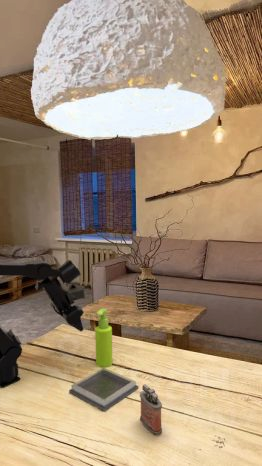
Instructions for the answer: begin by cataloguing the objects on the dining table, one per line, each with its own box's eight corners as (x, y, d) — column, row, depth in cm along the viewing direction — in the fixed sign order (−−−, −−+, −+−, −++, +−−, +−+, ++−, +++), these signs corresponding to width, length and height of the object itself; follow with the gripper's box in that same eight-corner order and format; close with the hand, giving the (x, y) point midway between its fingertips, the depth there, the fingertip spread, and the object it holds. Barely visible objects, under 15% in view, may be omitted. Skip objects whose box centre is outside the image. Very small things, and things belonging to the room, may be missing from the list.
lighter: (165, 432, 87) (165, 395, 86) (153, 437, 85) (153, 399, 84) (148, 415, 94) (147, 380, 93) (137, 419, 92) (136, 383, 91)
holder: (104, 411, 95) (104, 404, 95) (69, 392, 105) (69, 385, 105) (138, 388, 107) (138, 381, 107) (103, 373, 116) (103, 366, 116)
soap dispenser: (92, 367, 120) (90, 312, 118) (99, 358, 127) (98, 306, 125) (108, 369, 119) (106, 313, 117) (114, 360, 125) (113, 307, 123)
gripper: (84, 284, 113) (106, 320, 118) (66, 273, 129) (86, 305, 134) (56, 305, 109) (79, 341, 114) (40, 291, 125) (62, 323, 130)
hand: (77, 326), depth 123 cm, fingers open, 9 cm apart
